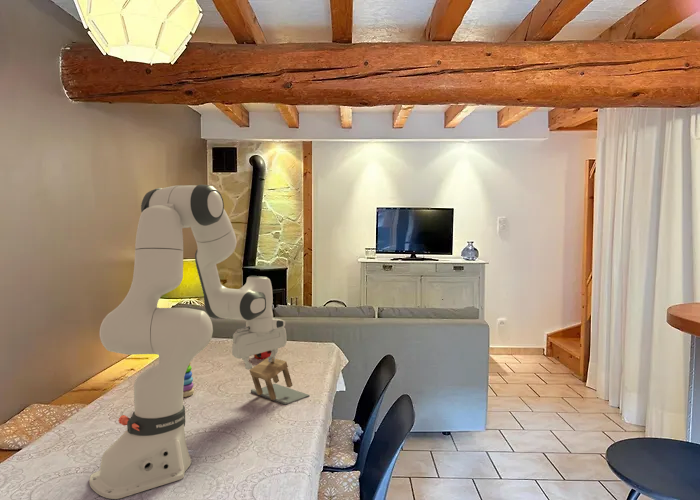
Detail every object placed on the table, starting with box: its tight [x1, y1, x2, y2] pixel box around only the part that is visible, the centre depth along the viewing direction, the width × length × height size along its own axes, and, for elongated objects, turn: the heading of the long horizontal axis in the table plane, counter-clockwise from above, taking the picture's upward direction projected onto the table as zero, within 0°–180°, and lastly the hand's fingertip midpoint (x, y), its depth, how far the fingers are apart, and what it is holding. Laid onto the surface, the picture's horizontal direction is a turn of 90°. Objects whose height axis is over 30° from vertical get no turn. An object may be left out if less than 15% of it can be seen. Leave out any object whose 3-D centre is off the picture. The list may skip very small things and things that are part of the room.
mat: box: [250, 383, 311, 406], centre depth 173 cm, size 11×18×1 cm, turn 48°
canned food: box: [253, 350, 272, 360], centre depth 218 cm, size 8×8×11 cm
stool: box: [249, 357, 294, 401], centre depth 169 cm, size 10×9×9 cm
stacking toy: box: [183, 361, 195, 398], centre depth 172 cm, size 8×8×19 cm
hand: (260, 365), depth 166 cm, fingers open, 8 cm apart
